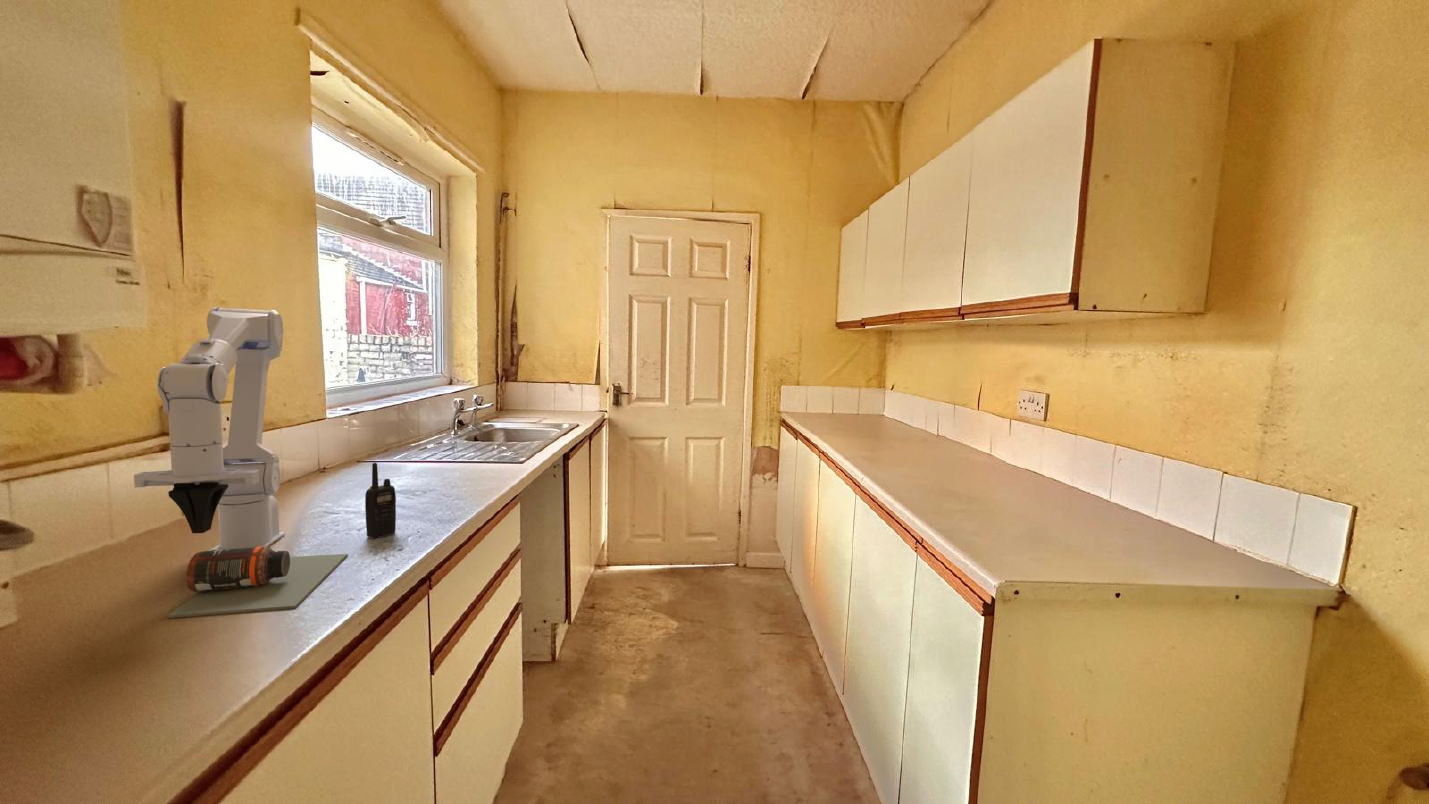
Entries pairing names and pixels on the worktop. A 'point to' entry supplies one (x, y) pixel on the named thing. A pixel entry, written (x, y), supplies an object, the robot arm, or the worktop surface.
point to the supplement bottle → (235, 568)
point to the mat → (265, 590)
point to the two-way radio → (380, 507)
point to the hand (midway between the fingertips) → (201, 531)
